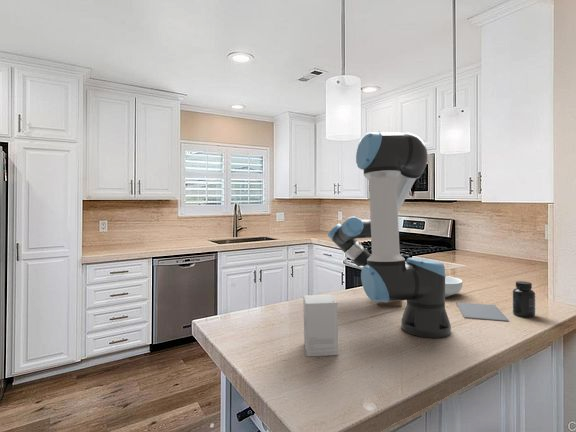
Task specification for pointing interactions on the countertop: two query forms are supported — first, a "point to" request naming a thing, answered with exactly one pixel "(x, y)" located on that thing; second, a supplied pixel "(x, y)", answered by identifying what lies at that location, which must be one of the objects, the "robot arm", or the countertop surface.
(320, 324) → the supplement box
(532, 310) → the supplement bottle
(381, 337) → the countertop surface
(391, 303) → the walnut cover
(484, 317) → the slate mat
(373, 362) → the countertop surface
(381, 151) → the robot arm
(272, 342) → the countertop surface
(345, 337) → the countertop surface
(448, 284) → the cereal bowl
